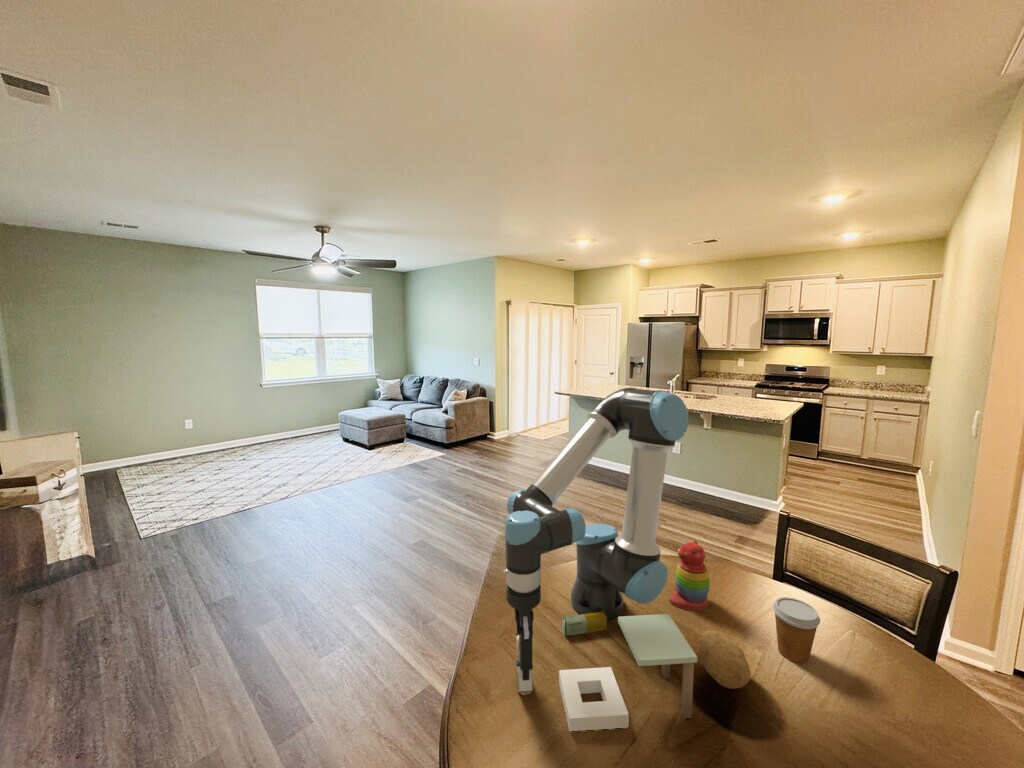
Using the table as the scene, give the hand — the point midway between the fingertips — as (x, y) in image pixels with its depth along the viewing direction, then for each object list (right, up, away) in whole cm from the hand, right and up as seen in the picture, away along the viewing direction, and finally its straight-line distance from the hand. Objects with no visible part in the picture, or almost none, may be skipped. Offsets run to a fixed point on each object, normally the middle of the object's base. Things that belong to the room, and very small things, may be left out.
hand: (524, 681), depth 92 cm
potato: (+46, -1, +3) cm, 46 cm away
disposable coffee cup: (+67, 0, +9) cm, 67 cm away
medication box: (+17, 0, +18) cm, 25 cm away
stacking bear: (+50, +2, +30) cm, 59 cm away
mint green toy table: (+28, -1, -2) cm, 28 cm away
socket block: (+14, -2, -4) cm, 15 cm away
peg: (0, -2, 0) cm, 2 cm away
